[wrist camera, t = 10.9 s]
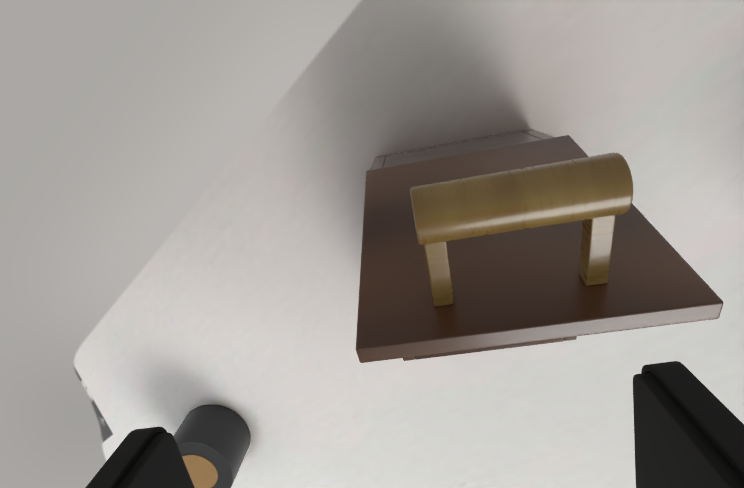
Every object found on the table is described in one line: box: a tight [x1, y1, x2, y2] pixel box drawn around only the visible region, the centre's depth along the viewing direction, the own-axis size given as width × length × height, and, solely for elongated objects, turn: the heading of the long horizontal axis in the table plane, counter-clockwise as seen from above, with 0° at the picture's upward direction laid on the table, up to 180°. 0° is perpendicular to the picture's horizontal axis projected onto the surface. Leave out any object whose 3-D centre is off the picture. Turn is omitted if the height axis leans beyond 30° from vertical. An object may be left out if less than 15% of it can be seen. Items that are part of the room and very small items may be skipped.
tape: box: [173, 405, 250, 488], centre depth 40 cm, size 6×6×5 cm
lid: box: [356, 135, 723, 363], centre depth 19 cm, size 13×11×5 cm
